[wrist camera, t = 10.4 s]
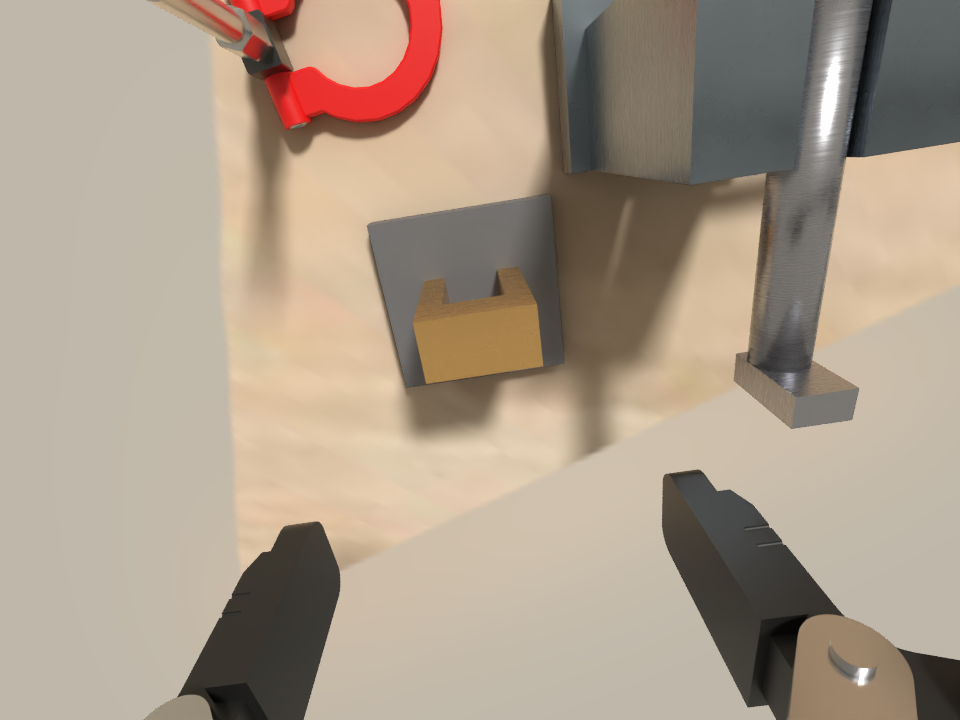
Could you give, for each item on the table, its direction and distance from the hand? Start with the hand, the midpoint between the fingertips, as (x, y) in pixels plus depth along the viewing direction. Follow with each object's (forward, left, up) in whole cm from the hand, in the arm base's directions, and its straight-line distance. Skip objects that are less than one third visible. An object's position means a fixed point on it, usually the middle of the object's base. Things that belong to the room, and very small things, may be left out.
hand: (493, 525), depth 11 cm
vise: (-13, -6, -19) cm, 24 cm away
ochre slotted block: (0, 0, -18) cm, 18 cm away
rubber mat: (0, 0, -19) cm, 19 cm away
